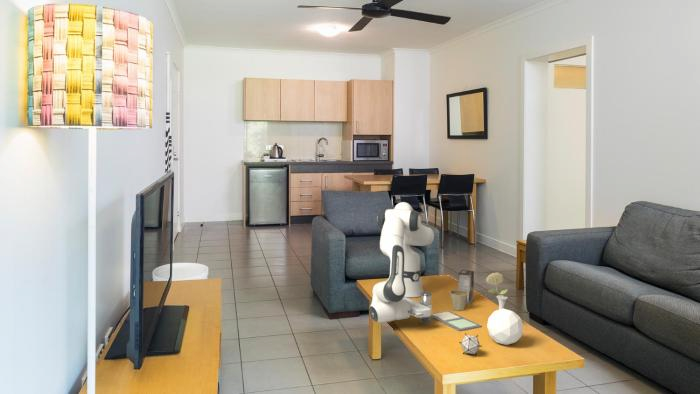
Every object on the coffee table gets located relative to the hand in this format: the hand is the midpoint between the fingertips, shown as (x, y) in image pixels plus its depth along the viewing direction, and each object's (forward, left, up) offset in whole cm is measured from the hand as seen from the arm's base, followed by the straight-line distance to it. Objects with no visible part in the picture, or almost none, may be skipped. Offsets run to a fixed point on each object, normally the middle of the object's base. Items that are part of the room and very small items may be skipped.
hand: (427, 305), depth 242 cm
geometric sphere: (+36, +14, -8) cm, 40 cm away
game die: (+39, -7, -8) cm, 40 cm away
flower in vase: (+19, +27, -8) cm, 34 cm away
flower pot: (-9, +26, -8) cm, 29 cm away
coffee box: (-18, +38, -8) cm, 43 cm away
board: (+5, +12, -8) cm, 15 cm away
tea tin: (0, -1, -8) cm, 8 cm away
